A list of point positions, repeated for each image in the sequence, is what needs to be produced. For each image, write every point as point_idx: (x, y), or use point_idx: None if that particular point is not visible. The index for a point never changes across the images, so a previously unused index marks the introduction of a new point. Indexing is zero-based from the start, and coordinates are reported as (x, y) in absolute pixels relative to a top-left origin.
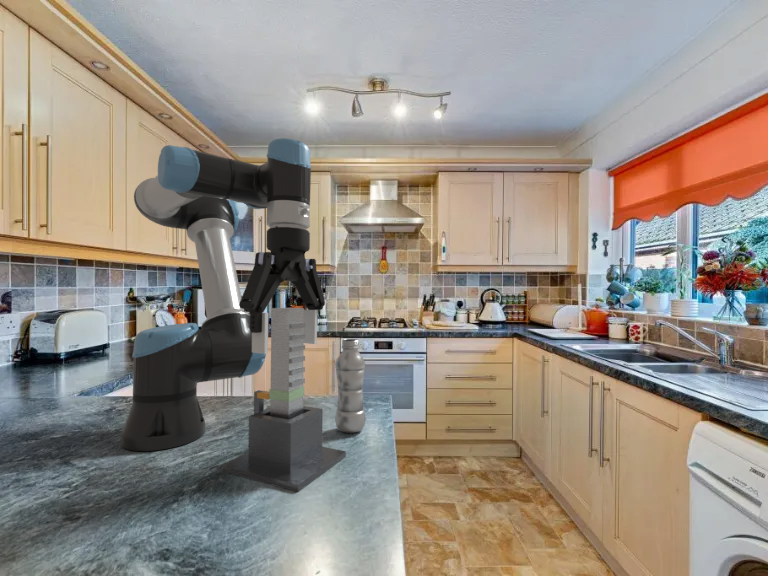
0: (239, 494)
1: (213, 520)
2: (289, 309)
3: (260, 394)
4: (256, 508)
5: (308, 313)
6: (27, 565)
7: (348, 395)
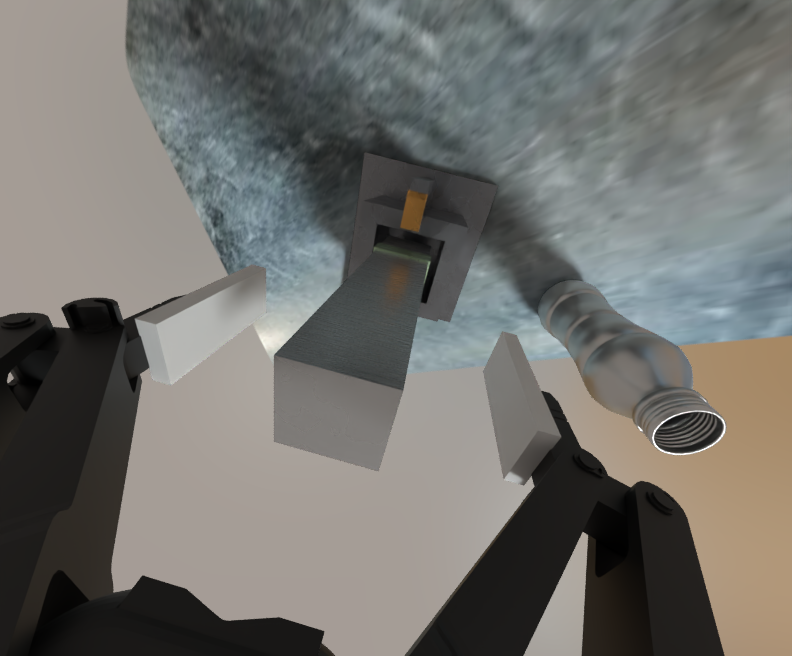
0: (321, 225)
1: (270, 228)
2: (274, 438)
3: (405, 202)
4: (304, 261)
5: (515, 437)
6: (137, 84)
7: (565, 337)
